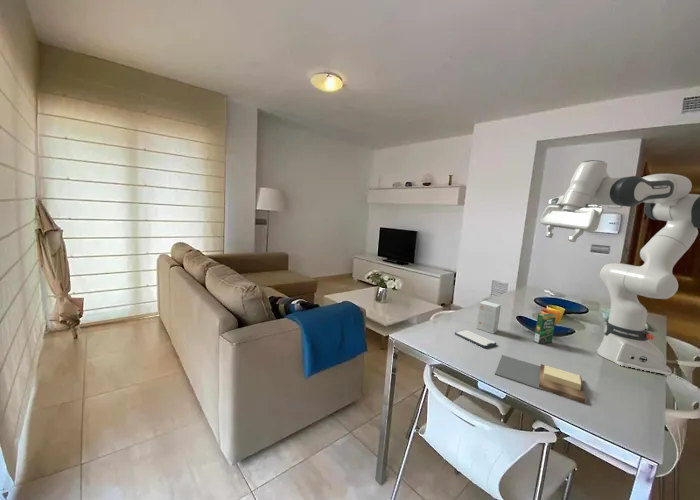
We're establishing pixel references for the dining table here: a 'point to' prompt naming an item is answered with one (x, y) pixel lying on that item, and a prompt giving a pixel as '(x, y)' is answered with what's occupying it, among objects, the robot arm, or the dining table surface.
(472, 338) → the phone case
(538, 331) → the coffee box
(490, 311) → the small box
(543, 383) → the brown flat block
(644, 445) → the dining table surface
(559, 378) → the tile
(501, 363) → the mat
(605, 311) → the towel
